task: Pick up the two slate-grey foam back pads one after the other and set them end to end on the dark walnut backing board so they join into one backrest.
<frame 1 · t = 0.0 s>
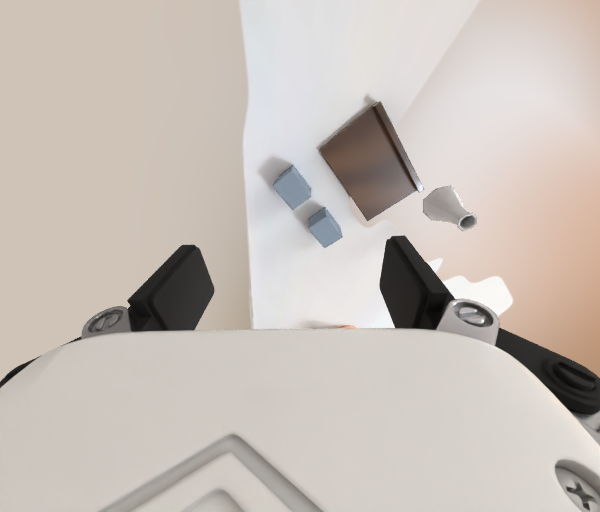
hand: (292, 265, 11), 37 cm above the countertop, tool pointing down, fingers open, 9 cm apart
pad a: (293, 184, 46), on the countertop
pad b: (324, 223, 50), on the countertop
backing board: (370, 168, 43), on the countertop
flask: (439, 202, 47), on the countertop
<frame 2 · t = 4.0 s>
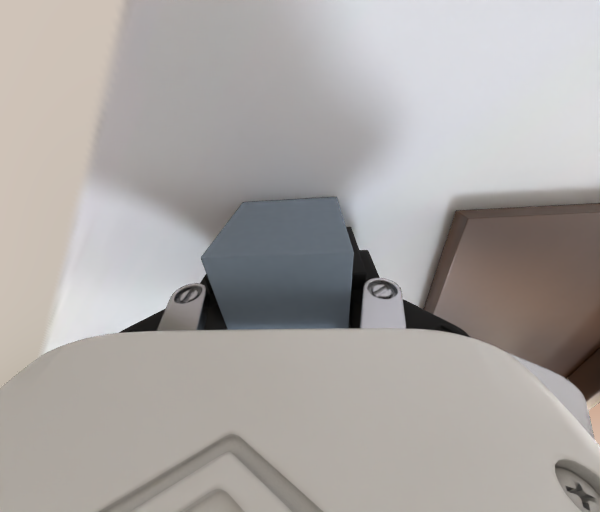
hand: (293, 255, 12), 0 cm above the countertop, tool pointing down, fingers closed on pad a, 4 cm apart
pad a: (294, 251, 12), on the countertop, touching gripper
backing board: (506, 330, 15), on the countertop
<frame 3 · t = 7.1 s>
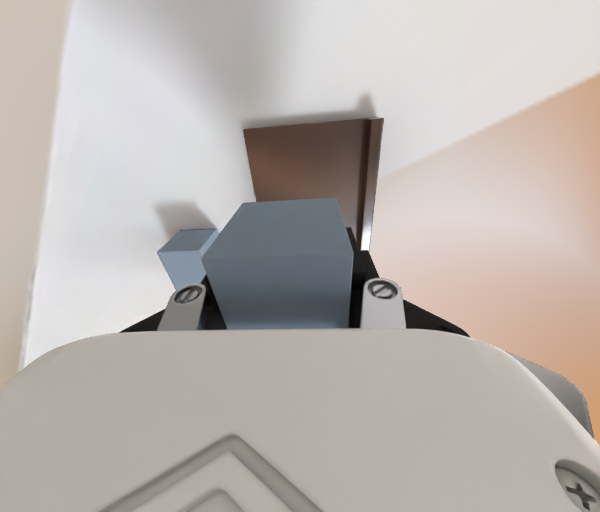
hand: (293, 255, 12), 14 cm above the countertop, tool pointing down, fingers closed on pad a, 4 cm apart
pad a: (294, 252, 12), point 13 cm above the countertop, touching gripper
pad b: (206, 250, 28), on the countertop
backing board: (313, 215, 25), on the countertop
when the fingers open (1 cm above the countertop, at t = 10.2 s): pad a stays where it is, resting on backing board.
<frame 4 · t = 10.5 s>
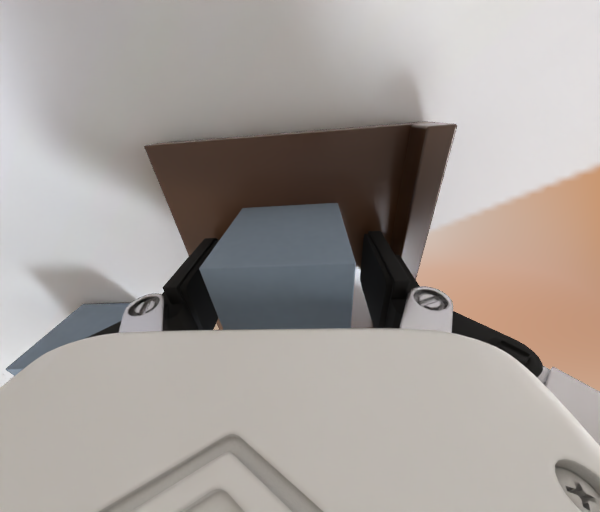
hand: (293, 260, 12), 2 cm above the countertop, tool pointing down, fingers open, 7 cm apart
pad a: (294, 257, 12), point 1 cm above the countertop, touching backing board
pad b: (131, 329, 18), on the countertop
backing board: (300, 287, 15), on the countertop
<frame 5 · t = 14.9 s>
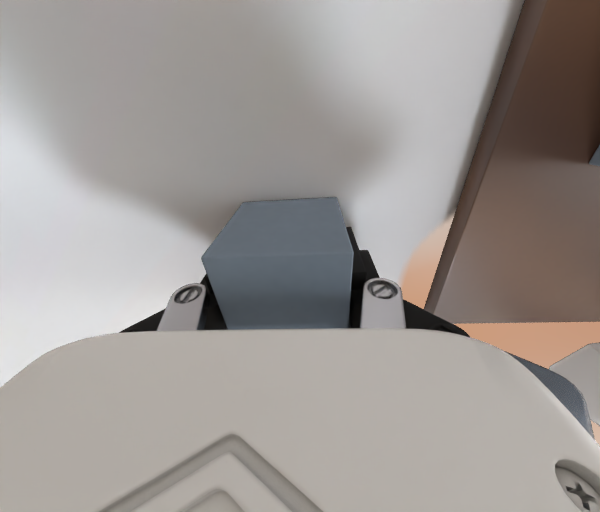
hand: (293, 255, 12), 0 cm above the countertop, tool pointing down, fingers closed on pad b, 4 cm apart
pad b: (294, 251, 12), on the countertop, touching gripper
flask: (593, 361, 17), on the countertop
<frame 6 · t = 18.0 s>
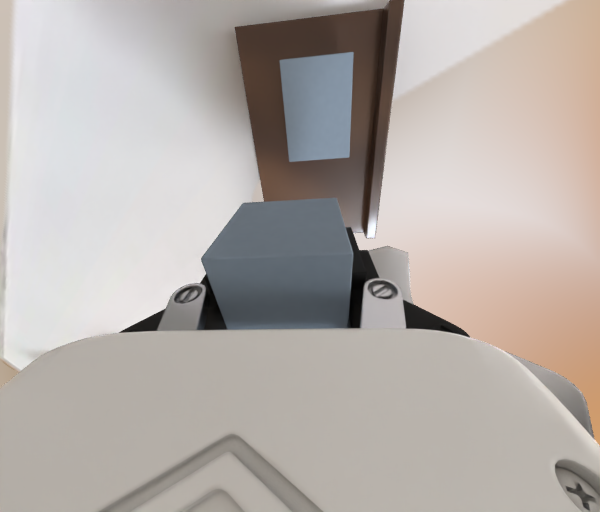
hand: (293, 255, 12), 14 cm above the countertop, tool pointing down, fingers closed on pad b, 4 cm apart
pad a: (316, 113, 19), point 1 cm above the countertop, touching backing board
pad b: (294, 252, 12), point 14 cm above the countertop, touching gripper
backing board: (317, 149, 22), on the countertop
flask: (380, 267, 30), on the countertop
when the fingers open (1 cm above the countertop, at t = 21.3 s): pad b stays where it is, resting on backing board.
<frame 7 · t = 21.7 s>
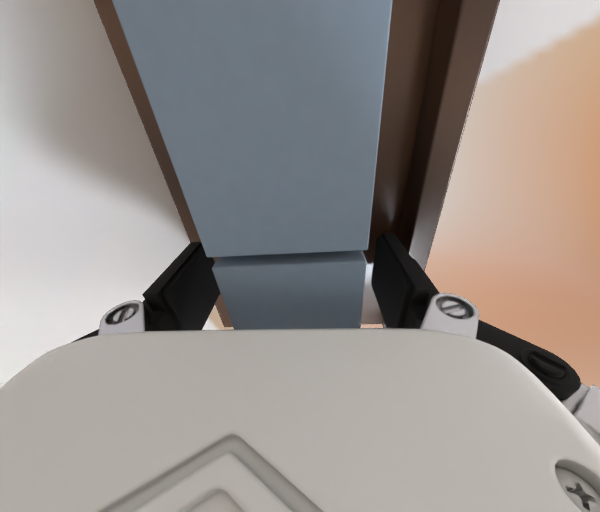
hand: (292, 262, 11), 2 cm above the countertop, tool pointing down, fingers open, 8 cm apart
pad a: (288, 123, 9), point 1 cm above the countertop, touching backing board
pad b: (301, 257, 12), point 1 cm above the countertop, touching backing board
backing board: (297, 192, 11), on the countertop
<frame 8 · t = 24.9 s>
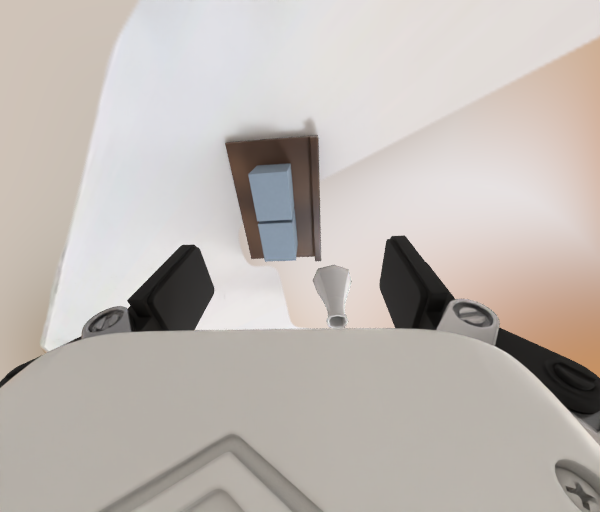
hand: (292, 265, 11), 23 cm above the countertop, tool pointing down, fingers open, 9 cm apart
pad a: (276, 186, 31), point 1 cm above the countertop, touching backing board
pad b: (281, 227, 35), point 1 cm above the countertop, touching backing board
backing board: (280, 204, 34), on the countertop
flask: (331, 279, 41), on the countertop
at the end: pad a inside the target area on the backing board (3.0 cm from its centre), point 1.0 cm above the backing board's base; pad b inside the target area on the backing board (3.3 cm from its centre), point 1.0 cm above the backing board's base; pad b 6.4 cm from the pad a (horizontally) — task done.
